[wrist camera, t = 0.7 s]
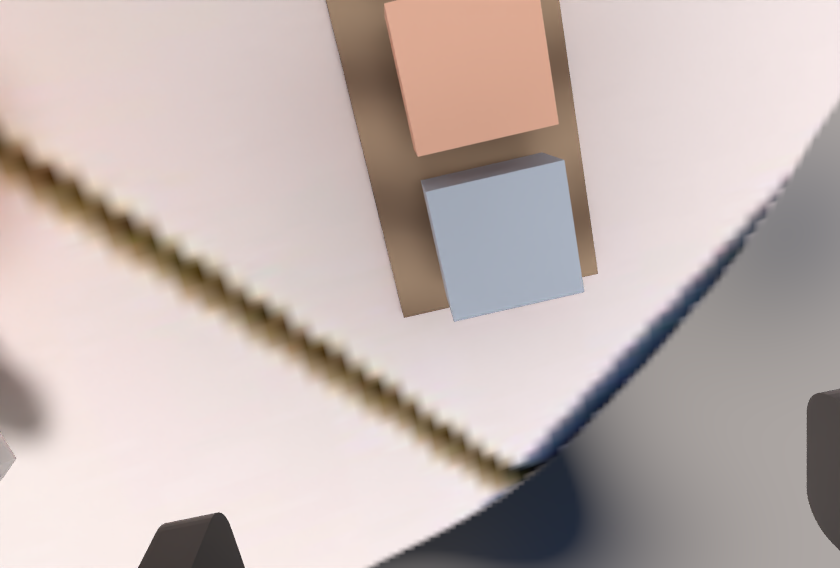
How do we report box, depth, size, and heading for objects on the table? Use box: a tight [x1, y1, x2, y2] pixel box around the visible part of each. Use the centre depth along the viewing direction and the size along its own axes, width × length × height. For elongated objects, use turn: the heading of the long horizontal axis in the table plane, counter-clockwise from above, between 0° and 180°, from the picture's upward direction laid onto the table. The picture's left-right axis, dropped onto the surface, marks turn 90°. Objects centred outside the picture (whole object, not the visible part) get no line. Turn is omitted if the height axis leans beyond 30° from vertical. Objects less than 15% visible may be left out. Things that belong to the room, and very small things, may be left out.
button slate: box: [421, 152, 584, 322], centre depth 29 cm, size 6×6×4 cm
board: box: [326, 0, 598, 318], centre depth 30 cm, size 24×11×3 cm, turn 12°
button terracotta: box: [384, 0, 559, 157], centre depth 27 cm, size 6×6×4 cm
